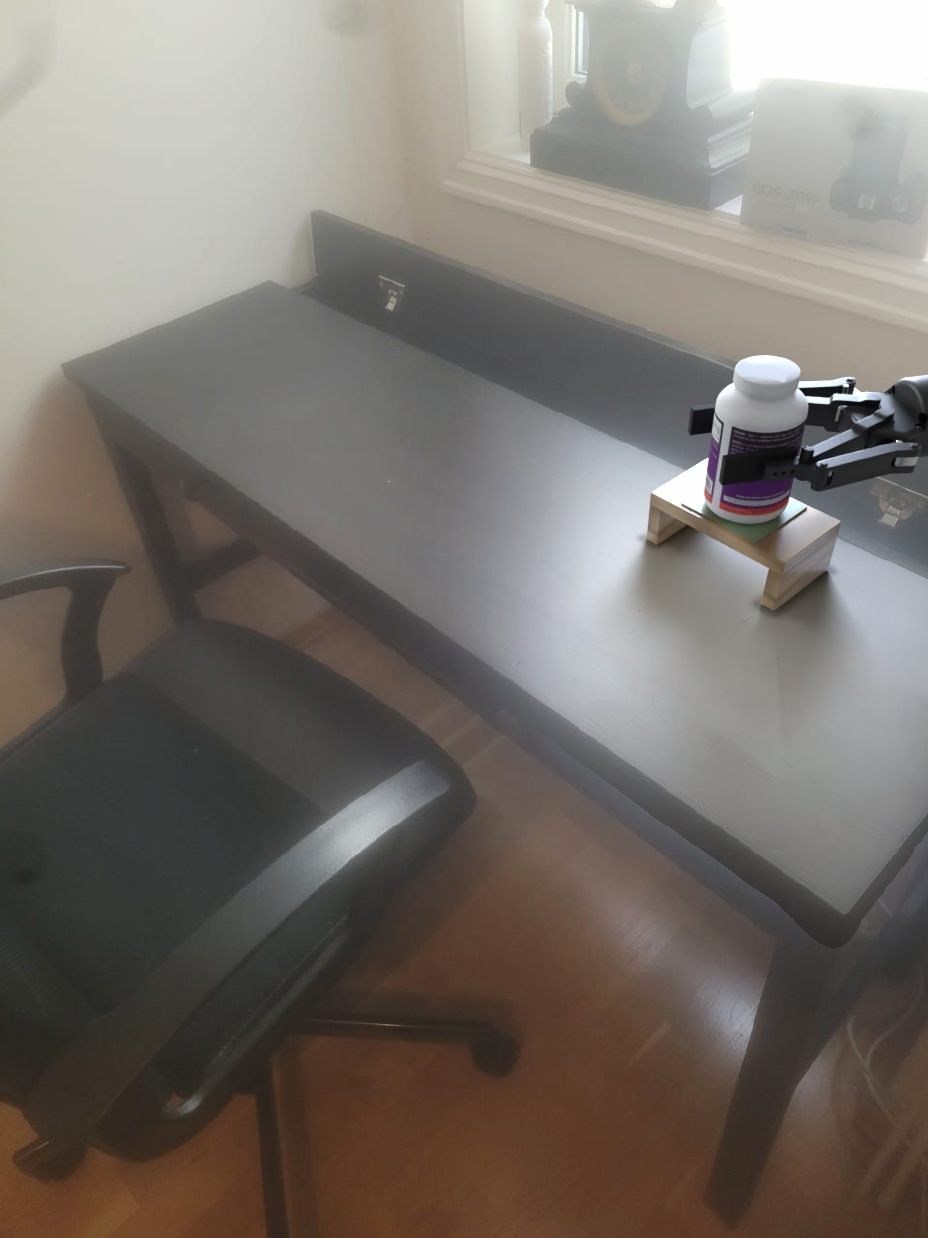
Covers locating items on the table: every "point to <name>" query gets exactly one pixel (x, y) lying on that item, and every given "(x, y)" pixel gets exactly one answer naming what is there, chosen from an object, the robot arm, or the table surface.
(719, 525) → the shelf
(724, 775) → the table surface
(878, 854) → the table surface
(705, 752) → the table surface
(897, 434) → the robot arm
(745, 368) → the pill bottle
